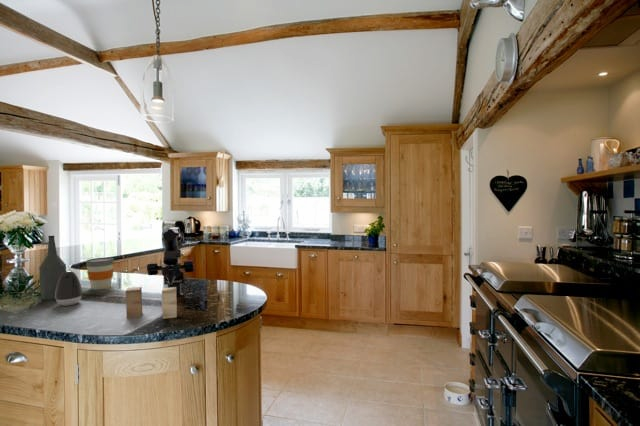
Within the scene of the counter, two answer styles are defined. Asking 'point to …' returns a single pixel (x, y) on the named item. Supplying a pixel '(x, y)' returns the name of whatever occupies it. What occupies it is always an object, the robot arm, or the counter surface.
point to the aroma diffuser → (68, 289)
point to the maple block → (169, 302)
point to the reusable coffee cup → (100, 272)
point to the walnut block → (134, 302)
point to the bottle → (50, 271)
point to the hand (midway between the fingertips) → (170, 284)
